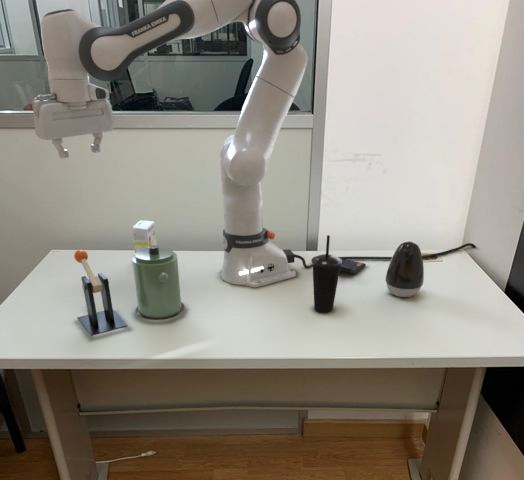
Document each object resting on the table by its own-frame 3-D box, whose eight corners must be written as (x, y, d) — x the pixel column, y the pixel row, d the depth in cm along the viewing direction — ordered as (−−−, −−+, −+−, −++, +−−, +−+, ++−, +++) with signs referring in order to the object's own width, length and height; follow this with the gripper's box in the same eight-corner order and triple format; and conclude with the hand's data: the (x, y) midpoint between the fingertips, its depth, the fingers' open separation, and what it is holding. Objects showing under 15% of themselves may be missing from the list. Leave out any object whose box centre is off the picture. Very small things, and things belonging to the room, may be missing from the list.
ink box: (151, 265, 166) (146, 228, 160) (135, 265, 166) (131, 228, 160) (158, 255, 173) (154, 220, 167) (143, 255, 174) (139, 219, 168)
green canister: (130, 303, 142) (121, 239, 133) (175, 296, 147) (169, 233, 137) (144, 332, 129) (135, 263, 119) (193, 323, 133) (189, 256, 124)
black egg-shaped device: (379, 297, 146) (386, 244, 138) (388, 283, 154) (395, 232, 146) (416, 304, 142) (425, 250, 134) (424, 289, 150) (433, 238, 143)
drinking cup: (340, 305, 142) (346, 232, 132) (334, 317, 136) (340, 242, 125) (313, 301, 144) (317, 229, 134) (305, 313, 138) (309, 238, 127)
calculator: (365, 266, 165) (366, 257, 164) (349, 278, 157) (350, 269, 155) (338, 260, 169) (338, 251, 168) (321, 272, 161) (322, 262, 159)
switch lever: (72, 258, 132) (72, 248, 129) (85, 255, 133) (85, 245, 131) (91, 294, 126) (90, 285, 124) (104, 291, 128) (104, 282, 125)
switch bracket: (78, 321, 134) (68, 274, 127) (112, 312, 138) (105, 266, 131) (91, 339, 126) (82, 290, 119) (128, 329, 130) (121, 281, 123)
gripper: (39, 96, 114) (51, 163, 121) (114, 90, 128) (121, 150, 135) (22, 94, 117) (35, 159, 124) (97, 88, 131) (104, 147, 138)
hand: (80, 154), depth 130 cm, fingers open, 8 cm apart
